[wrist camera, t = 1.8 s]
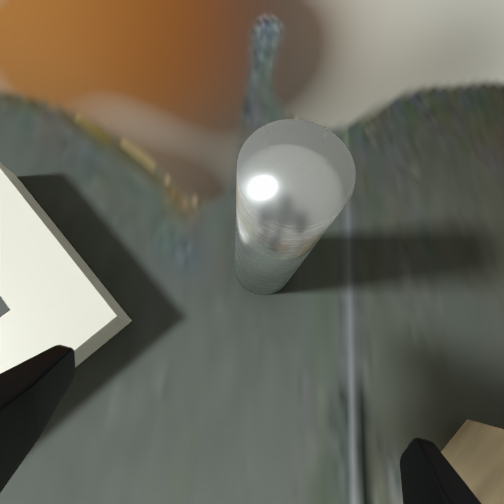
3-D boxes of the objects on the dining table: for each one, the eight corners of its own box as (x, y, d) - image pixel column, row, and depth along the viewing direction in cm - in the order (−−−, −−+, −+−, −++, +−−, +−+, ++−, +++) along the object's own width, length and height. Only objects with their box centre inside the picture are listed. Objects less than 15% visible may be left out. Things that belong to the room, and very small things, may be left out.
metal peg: (303, 269, 24) (379, 175, 11) (261, 306, 23) (295, 250, 10) (264, 229, 25) (297, 99, 12) (223, 264, 24) (212, 163, 11)
